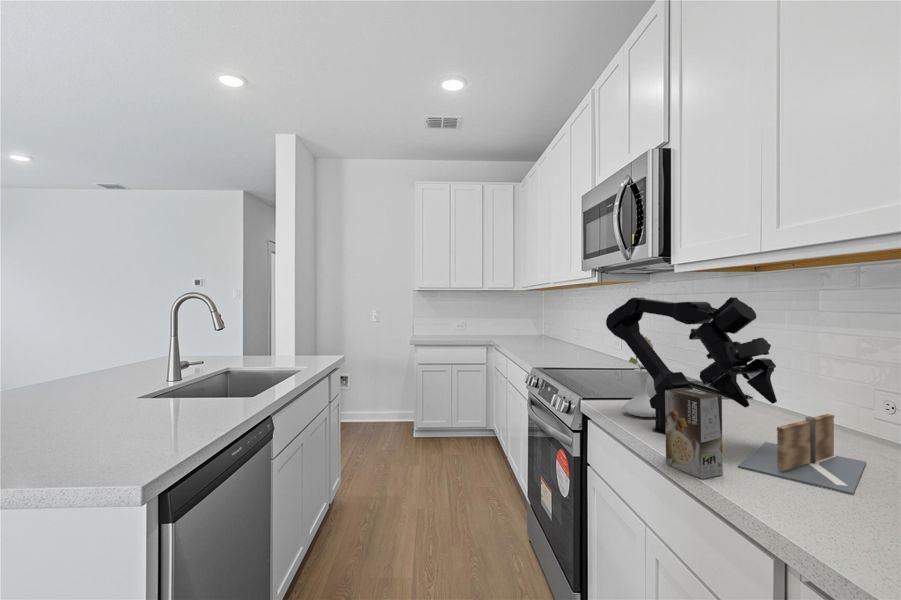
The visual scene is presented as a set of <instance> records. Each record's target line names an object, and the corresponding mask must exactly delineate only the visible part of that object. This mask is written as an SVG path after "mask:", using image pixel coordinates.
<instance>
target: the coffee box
mask: <svg viewBox="0 0 901 600" xmlns="http://www.w3.org/2000/svg"><path fill="white" fill-rule="evenodd" d="M665 420H666V433H665V465H667V466H669V467H672V468H675V469H677V470H679V471H682V472H684V473H686V474H688V475H691V476H693V477H695V478H698V479H701V480H704V479H710V478H716V477H720V476H719V475H721V476H723V475H724V472H723V471H724V470H723V469H724V468H723V397H722V395H719V394H715V393H710V392H705V391H702V390H696V389H693V390H692V389H688V388H679V389H672V390H665Z"/></svg>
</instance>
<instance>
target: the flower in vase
mask: <svg viewBox="0 0 901 600" xmlns="http://www.w3.org/2000/svg"><path fill="white" fill-rule="evenodd" d="M641 335H642V336H643V337H644V338H645V340H646V341H647V342H648V343H649V345H650V346H651V347H652V348H653V349H654V346H653V343H651V342H652V341H651V339H648V337H647V336H645V335H644V334H643V333H641ZM628 362H629V363H632V364H633V365H638V368H637V369H636V368H635V369H633V371H634V372H635V374H636V377H637V382H638V391H637V394H636V395H635V396H634V397H632V398H631V399H629V400H628V401H626V402H625V403H624V405H623V406H622V410H623V411H624V412H625V413H626V414H629V415H632V416H635V417H642V418H655V409H653V408H651V405H650V401H649V400H650V399H651V398H652V397H650V395H649V394H648V391H647V384H648V379H649V376H650V374H649V373H648V371H647V370H646V369H645V368H642V367H641V366H643V365H642V363H641V364H640V362H639V360H638V358H637V357H636V356H635V357H633V356H631V357H630V358H629V361H628Z"/></svg>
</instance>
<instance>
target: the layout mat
mask: <svg viewBox="0 0 901 600" xmlns="http://www.w3.org/2000/svg"><path fill="white" fill-rule="evenodd" d="M866 464H867V461H866V460H861V459H855V458H851V457H850V458H849V457H845V456H839V455H835V454H834V456H832V457H829V458H826V459H823V460H820V461H817V462H815V463H807V464H804V465H801V466H798V467H795V468H792V469H789V470H786V471H780V470H777V443H773V442H767V441H765V442H764V443H763V444H761V445H760V446H759V447H758V448H757V449H756V450H754V451H753V452H752V453H751V454H750V455H748V457H746V458H745V459H744V460H743V461H742V462H740V463H739V464H738V465H737V468H739V469H742V470H748V471H751V472H755V473H759V474H763V475H768V476H771V475H772V476H773V477H775V478H779V479H780V478H781V479H785V480H787V481H792V480H793V482H796V481H797V482H796V483H800V482H801V484H805V485H809V486H813V485H814V487H817V486H819V488H821V487H823V488H822V489H825V488H827V489H826V490H830V489H832V490H831V491H834V490H836V491H835V492H838V491H840V492H839V493H842V492H844V493H843V494H846V493H847V494H848V495H852V496H854V494H855V492H856V489H857V487H858V484H859V482H860V479H861V478H862V477H861V476H862V475H863V472H864V470H865V467H866ZM772 476H771V477H772Z"/></svg>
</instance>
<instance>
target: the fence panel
mask: <svg viewBox="0 0 901 600" xmlns="http://www.w3.org/2000/svg"><path fill="white" fill-rule="evenodd" d="M810 425H811V422H809V421H806V420H801V421H797V422H791V423H788V424H785V425H784V424H783V425H781V426H777V427H776V431H777V432H776V433H777V434H776V435H777V436H776V437H777V439H776V440H777V443H776V444H777V470H780V471H786V470H789V469H792V468H795V467H798V466H801V465H804V464H807V463H810Z"/></svg>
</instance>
